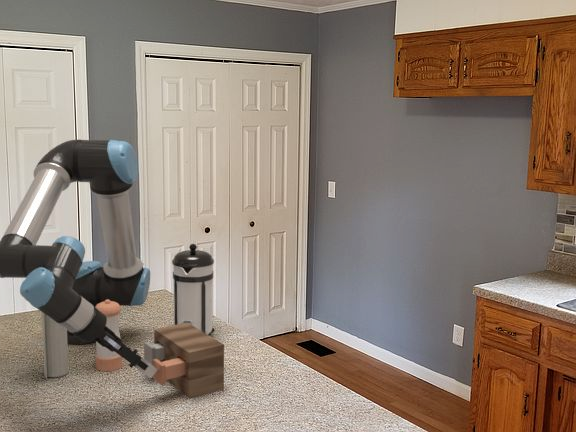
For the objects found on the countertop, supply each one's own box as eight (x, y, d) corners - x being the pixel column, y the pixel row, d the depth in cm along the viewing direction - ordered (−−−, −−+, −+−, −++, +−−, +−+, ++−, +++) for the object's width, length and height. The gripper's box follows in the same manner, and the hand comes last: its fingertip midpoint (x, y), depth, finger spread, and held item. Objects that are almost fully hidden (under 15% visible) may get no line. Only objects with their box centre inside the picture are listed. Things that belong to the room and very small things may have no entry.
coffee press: (228, 338, 198) (229, 245, 193) (181, 348, 189) (181, 251, 184) (203, 322, 212) (203, 235, 207) (158, 331, 203) (157, 240, 198)
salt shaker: (111, 359, 180) (109, 294, 177) (128, 365, 176) (126, 299, 173) (90, 367, 174) (87, 300, 171) (107, 373, 170) (105, 305, 167)
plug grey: (144, 360, 169) (143, 342, 168) (190, 349, 177) (190, 332, 176) (152, 366, 165) (151, 348, 164) (199, 355, 173) (199, 337, 172)
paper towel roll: (62, 367, 174) (59, 292, 170) (72, 373, 170) (69, 297, 166) (36, 374, 169) (33, 297, 165) (46, 381, 165) (42, 302, 161)
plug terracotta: (153, 378, 157) (152, 359, 157) (202, 365, 166) (202, 347, 165) (162, 385, 153) (161, 366, 153) (212, 372, 162) (212, 353, 161)
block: (154, 371, 173) (154, 329, 171) (187, 363, 179) (187, 322, 177) (189, 398, 157) (188, 352, 155) (223, 388, 163) (224, 344, 161)
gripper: (62, 325, 146) (132, 376, 158) (81, 342, 135) (154, 395, 148) (84, 299, 148) (151, 352, 160) (104, 314, 138) (174, 369, 150)
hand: (153, 373), depth 154 cm, fingers closed
